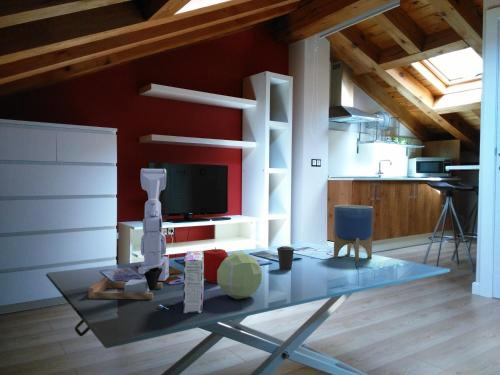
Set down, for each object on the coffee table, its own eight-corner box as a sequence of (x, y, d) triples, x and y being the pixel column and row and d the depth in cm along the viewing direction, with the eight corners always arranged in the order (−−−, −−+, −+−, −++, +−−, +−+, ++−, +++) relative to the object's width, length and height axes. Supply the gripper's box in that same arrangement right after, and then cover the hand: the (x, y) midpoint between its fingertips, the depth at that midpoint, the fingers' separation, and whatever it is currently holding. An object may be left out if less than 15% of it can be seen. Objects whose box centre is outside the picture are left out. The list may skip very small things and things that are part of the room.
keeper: (149, 290, 144) (149, 279, 144) (144, 296, 137) (144, 285, 137) (130, 290, 144) (130, 279, 144) (124, 296, 137) (124, 284, 137)
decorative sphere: (226, 306, 127) (227, 259, 127) (211, 293, 141) (212, 251, 141) (268, 300, 133) (269, 256, 133) (250, 288, 147) (251, 248, 147)
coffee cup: (273, 270, 176) (274, 247, 176) (279, 266, 184) (279, 244, 183) (291, 271, 173) (291, 249, 173) (296, 268, 181) (296, 246, 180)
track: (162, 288, 147) (162, 278, 147) (152, 299, 133) (152, 289, 133) (104, 286, 148) (104, 277, 147) (88, 298, 134) (88, 287, 134)
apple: (216, 276, 164) (216, 243, 163) (233, 281, 157) (233, 247, 156) (195, 281, 156) (195, 247, 156) (212, 286, 149) (212, 250, 149)
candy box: (186, 299, 134) (186, 250, 134) (203, 299, 135) (204, 250, 134) (182, 313, 121) (183, 259, 120) (202, 313, 121) (202, 259, 120)
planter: (377, 261, 195) (378, 208, 195) (337, 261, 196) (338, 207, 195) (366, 253, 215) (367, 205, 214) (330, 253, 215) (331, 204, 214)
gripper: (153, 246, 148) (153, 283, 148) (130, 254, 134) (130, 294, 134) (170, 247, 146) (170, 284, 146) (149, 255, 132) (148, 296, 132)
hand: (152, 289), depth 140 cm, fingers closed
